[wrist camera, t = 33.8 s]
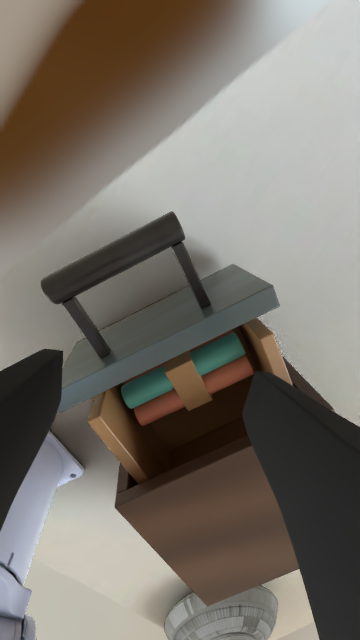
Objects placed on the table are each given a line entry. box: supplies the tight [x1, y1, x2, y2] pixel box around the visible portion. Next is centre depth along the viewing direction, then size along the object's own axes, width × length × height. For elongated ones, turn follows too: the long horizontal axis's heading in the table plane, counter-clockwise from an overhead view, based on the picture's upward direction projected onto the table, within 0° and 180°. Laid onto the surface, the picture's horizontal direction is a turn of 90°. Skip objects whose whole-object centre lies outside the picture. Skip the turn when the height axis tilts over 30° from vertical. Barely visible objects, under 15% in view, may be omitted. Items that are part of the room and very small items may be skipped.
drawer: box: [41, 211, 293, 484], centre depth 17 cm, size 17×12×6 cm
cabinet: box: [115, 356, 334, 607], centre depth 21 cm, size 14×14×8 cm
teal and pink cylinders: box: [121, 330, 254, 426], centre depth 18 cm, size 8×3×3 cm, turn 116°
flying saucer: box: [164, 585, 278, 640], centre depth 33 cm, size 15×15×6 cm
